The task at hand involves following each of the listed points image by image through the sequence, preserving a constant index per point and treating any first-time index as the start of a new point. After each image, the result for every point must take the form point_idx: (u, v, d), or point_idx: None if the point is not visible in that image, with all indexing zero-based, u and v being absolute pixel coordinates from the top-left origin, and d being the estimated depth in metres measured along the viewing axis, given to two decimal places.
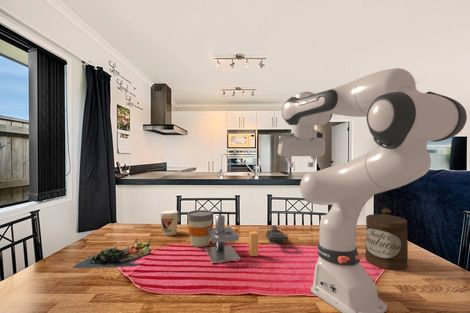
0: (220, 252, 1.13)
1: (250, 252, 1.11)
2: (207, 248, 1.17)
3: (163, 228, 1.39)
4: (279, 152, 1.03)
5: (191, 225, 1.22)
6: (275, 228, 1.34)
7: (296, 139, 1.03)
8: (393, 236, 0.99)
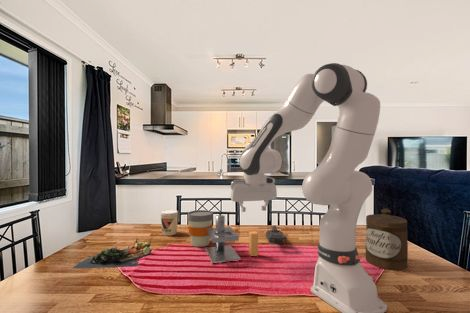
0: (220, 252, 1.13)
1: (250, 252, 1.11)
2: (207, 248, 1.17)
3: (163, 228, 1.39)
4: (231, 198, 1.09)
5: (191, 225, 1.22)
6: (275, 228, 1.34)
7: (247, 185, 1.09)
8: (393, 236, 0.99)
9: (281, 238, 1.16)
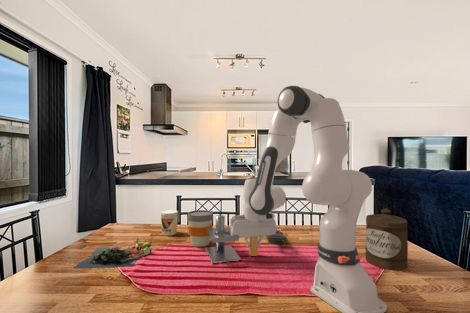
0: (220, 252, 1.13)
1: (250, 252, 1.11)
2: (207, 248, 1.17)
3: (163, 228, 1.39)
4: (231, 234, 1.09)
5: (191, 225, 1.22)
6: None
7: (246, 221, 1.09)
8: (393, 236, 0.99)
9: (280, 238, 1.16)
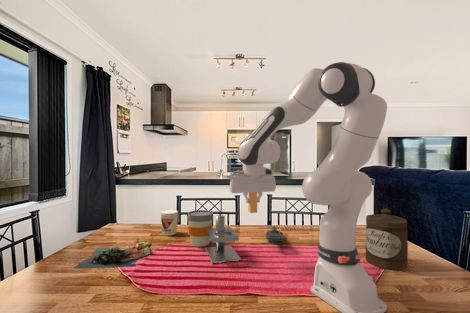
0: (220, 252, 1.13)
1: (249, 208, 1.11)
2: (207, 248, 1.17)
3: (163, 228, 1.39)
4: (230, 189, 1.09)
5: (191, 225, 1.22)
6: (275, 229, 1.33)
7: (246, 176, 1.09)
8: (393, 236, 0.99)
9: (280, 239, 1.16)
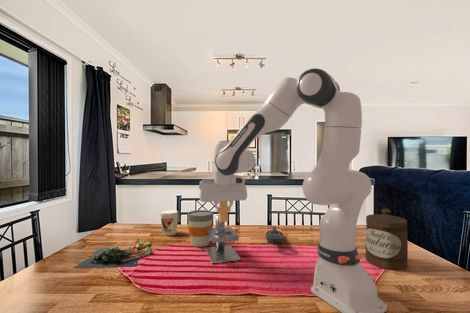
0: (220, 252, 1.13)
1: (220, 217, 1.09)
2: (207, 248, 1.17)
3: (163, 228, 1.39)
4: (200, 198, 1.07)
5: (191, 225, 1.22)
6: (274, 229, 1.33)
7: (216, 185, 1.07)
8: (393, 236, 0.99)
9: (278, 239, 1.15)
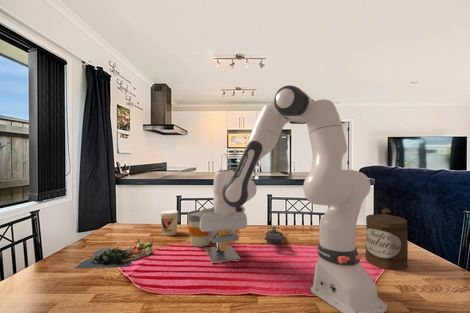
0: (220, 252, 1.13)
1: (220, 246, 1.09)
2: (207, 248, 1.17)
3: (163, 228, 1.39)
4: (200, 228, 1.07)
5: (191, 225, 1.22)
6: (274, 229, 1.32)
7: (216, 214, 1.07)
8: (392, 236, 0.99)
9: (276, 239, 1.15)
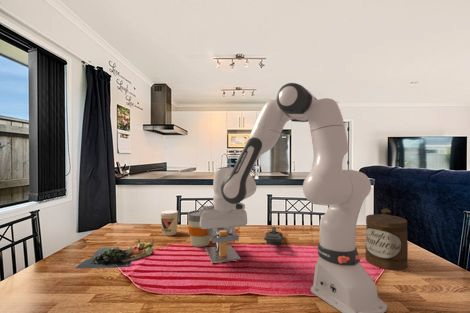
0: None
1: (219, 251, 1.09)
2: (207, 248, 1.17)
3: (163, 228, 1.39)
4: (200, 225, 1.06)
5: (191, 225, 1.22)
6: (274, 229, 1.32)
7: (216, 211, 1.07)
8: (392, 236, 0.99)
9: (276, 239, 1.14)
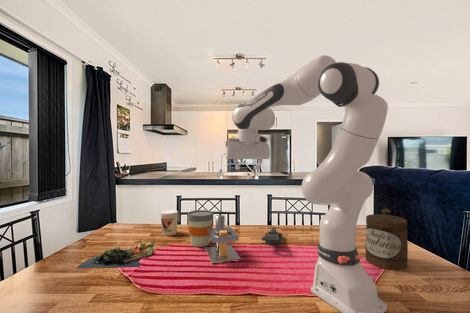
0: None
1: (219, 251, 1.09)
2: (207, 248, 1.17)
3: (163, 228, 1.39)
4: (226, 156, 1.13)
5: (191, 225, 1.22)
6: (273, 230, 1.31)
7: (241, 143, 1.13)
8: (392, 236, 0.99)
9: (273, 240, 1.14)
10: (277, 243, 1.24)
